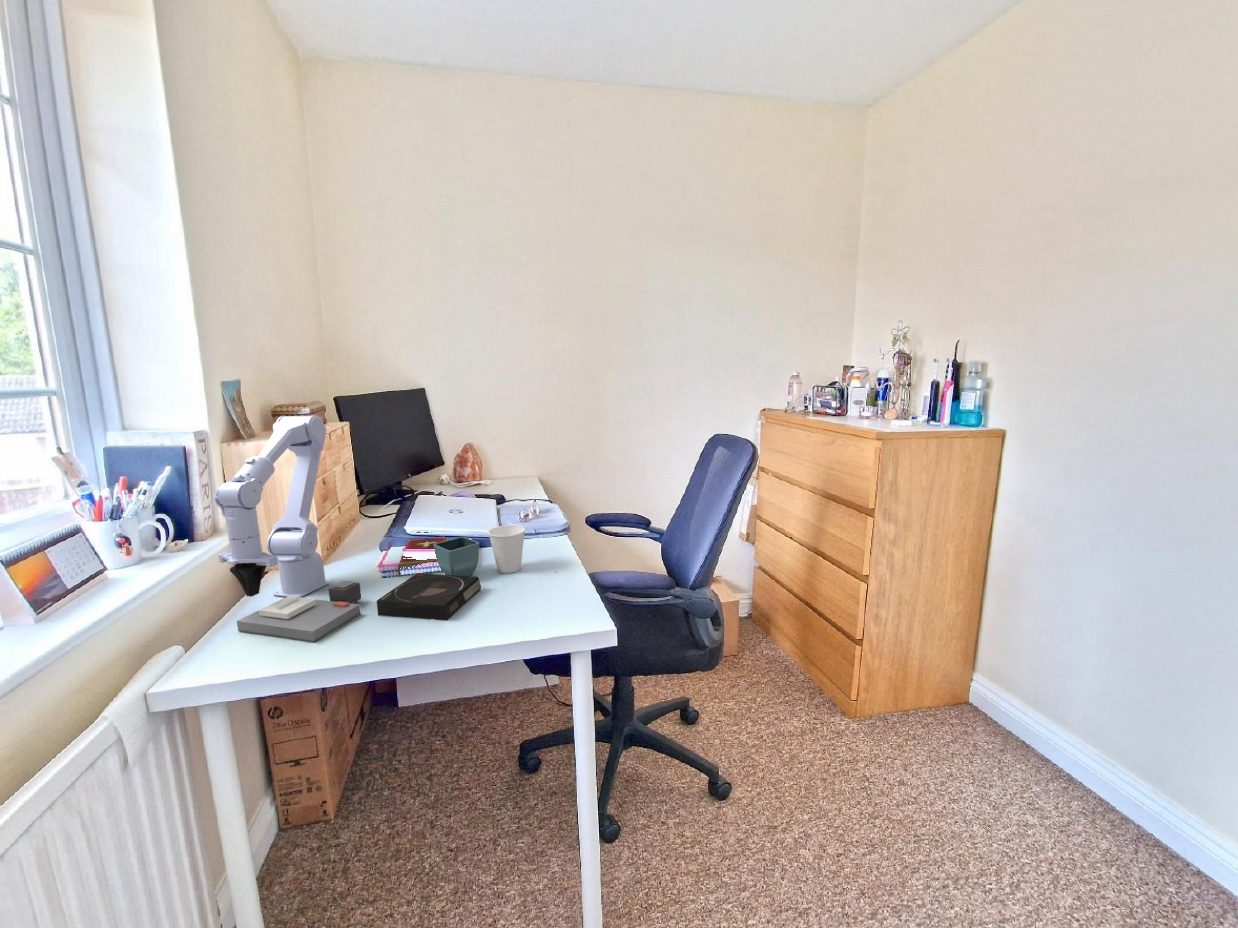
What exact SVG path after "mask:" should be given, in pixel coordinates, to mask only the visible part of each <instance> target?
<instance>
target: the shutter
mask: <svg viewBox="0 0 1238 928" xmlns="http://www.w3.org/2000/svg"><path fill="white" fill-rule="evenodd" d="M315 599H316V598H308V597H292V596H288V597H284V599H283V598H282V600H281V599H279V600H280V601H279V600H278V602H277V601H276V602H273V603H271V604H270V605H268V606H265V607H263V608H261V609H259V612H260V616H267V617H275V618H282V619H289V618H291V617H293V616H295V615H297V614H299V613H301V612H302V611H304V610H306V609H308V608H310V607H312V606H314V605H316V600H315Z"/></svg>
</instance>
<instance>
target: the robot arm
mask: <svg viewBox="0 0 1238 928" xmlns="http://www.w3.org/2000/svg"><path fill="white" fill-rule="evenodd" d="M272 432H273V433H272V434H271V436H270V438H269V439H268V440H267V442H266V443H265V445H264V447H263V448H262V449H261V451H260V452H259V455H257V456H256V455H255V456H251V457H248V458H246V460H245V461H244V464H243V465H242V467H241V468H240V469H239V470H238V472H236V474H235V475H234V476H233V478H232V479H231V480H230V481H227V482H224V483H223V484H221V485H220V486H219V487H218V488H217V490H216V493H215V497H214V502H215V504H216V505H217V507H218V508H219V509H220V510H221V515H222V516H223V517H224V519H225V524H226V532H227V539H228V544H229V550H230V551H224V552H223V551H222V552H221V553H218V554H217V555H218V556H217V557H218V562H219V563H221V564H223V563H227V564H228V565H234V566H232V567H229V571H230V573H231V574H232V575H233V576H234V577H235V578H236V579H237V580H238V583H240V586H241V587H242V590H243V592H244V594H245V595H246V597H251V598H252V597H253V596H256V595H258V594H260V590H261V585H262V584H261V583H262V579H263V575H264V573H265V570H266V568H272V567H275V566H277V567H278V573H279V580H280V587H281V589H279V590H277V591H275V592H274V593H273V596H276V597H284V598H286V597H288V596H292V597H300V598H303V597H304V596H307V595H308V594H310V593H312V592H315V591H316V590H318V589H320V588H323V587H324V586H326V585H328V584H329V582H328V581H326V575H325V567H324V561H323V557H322V556H321V555H320V553H319V552H317V548H318V544H319V540H318V529H319V528H318V526H317V525H316V524H315V523H314V522H312V521H311V520H310V515H311V510H312V503H313V498H314V492H315V487H316V482H317V479H318V478H317V477H318V471H319V467H320V461H321V457H322V451H323V450H324V446H325V441H326V435H327V428H326V425H325V423H324V420H323V419H322V418H321V417H320V416H319V415H299V416H298V415H297V416H295V415H294V416H287V415H280V416H279V417H278V418H277V419H276V421H275V422H274V423H273V425H272ZM287 450H289V451H290V452H292V453H294V455H295V462H294V466H293V472H292V477H291V481H290V487H289V492H288V496H287V501H286V506H285V511H284V516H283V517H281V519H279V520H278V521H277V522H275V523H273V526H272V529H271V532H270V534H269V535H268V537H267V541H266V549H267V551H268V553H267V552H265V551H263V546H262V540H261V539H262V538H261V534H260V527H259V519H258V518H259V517H258V511H257V506H258V505H259V504H260V502H261V501H262V493H263V491H264V487H265V485H266V483H267V482H268V481H269V479H270V478H271V477H272V475H273V474H274V473H275V470H276V469H275V466H274V464H275V463H276V462H277V461H278V460H279V458H281V456H282V455H283V454H284V453H285V452H286V451H287Z"/></svg>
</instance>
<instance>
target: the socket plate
mask: <svg viewBox="0 0 1238 928" xmlns="http://www.w3.org/2000/svg"><path fill="white" fill-rule="evenodd" d="M284 598H285V597H284ZM284 598H282V599H284ZM282 599H279V600H278V601H280V600H282ZM314 599H315V600H316V605H314V606H312V607H310V608H308V609H306V610H304V611H302V612H301V613H299V614H297V615H295V616H293V617H291V618H289V619H282V618H275V617H267V616H260V612H259V610H260V609H259V610H257V611H254V612H253V613H250V614H248V615H246V616H244V617H242V618H240V619H238V620H236V625H237V631H240V632H239V633H246V634H253V635H259V634H260V636H266V637H274V638H281V639H286V638H287V639H288V640H295V641H302V642H308V643H316V642H317V641H319V640H321V639H323V638H324V637H326V636H328V635H329V634H330V633H332V632H334V631H336V630H338V629H339V628H341V627H343V626H344V625H346V624H348V623H349V622H351V621H352V620H354V619H355V618H357V617H359V616H361V614H362V613H361V606H360V604H359V603H353V604H351V603H348V602H340V601H338V602H334V601H330V600H323V599H316V598H314ZM278 601H276V602H278Z"/></svg>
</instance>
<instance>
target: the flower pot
mask: <svg viewBox="0 0 1238 928" xmlns="http://www.w3.org/2000/svg"><path fill="white" fill-rule="evenodd" d="M434 549H435V554H436V558H437V562H438V564H439V566H440V568H441V570H442V571H441V572H443V575H459V576H473V574H474V573H475V572H476V569H477V566H478V565H479V564H478V563H479V557H480V555H479V554H480V541H479V542H478V541H476V540H473V539H470V538H468V537H465V536H460V537H455V538H452V539H448V541H444V542H440V543H436V544H434Z"/></svg>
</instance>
